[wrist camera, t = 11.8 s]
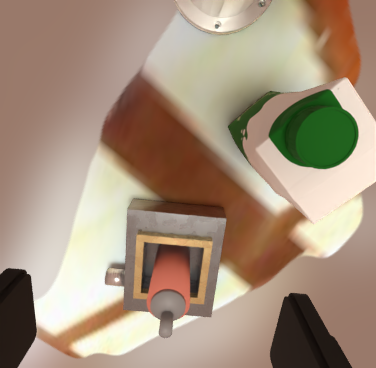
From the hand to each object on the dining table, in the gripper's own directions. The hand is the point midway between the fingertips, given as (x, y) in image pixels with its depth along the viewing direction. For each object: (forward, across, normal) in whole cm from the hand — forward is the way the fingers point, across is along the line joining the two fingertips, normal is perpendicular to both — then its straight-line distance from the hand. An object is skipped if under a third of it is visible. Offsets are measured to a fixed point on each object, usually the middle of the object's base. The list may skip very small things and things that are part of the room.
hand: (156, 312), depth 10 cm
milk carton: (+30, -11, -4) cm, 32 cm away
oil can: (+28, 0, +16) cm, 32 cm away
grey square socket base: (+29, +1, +16) cm, 33 cm away
